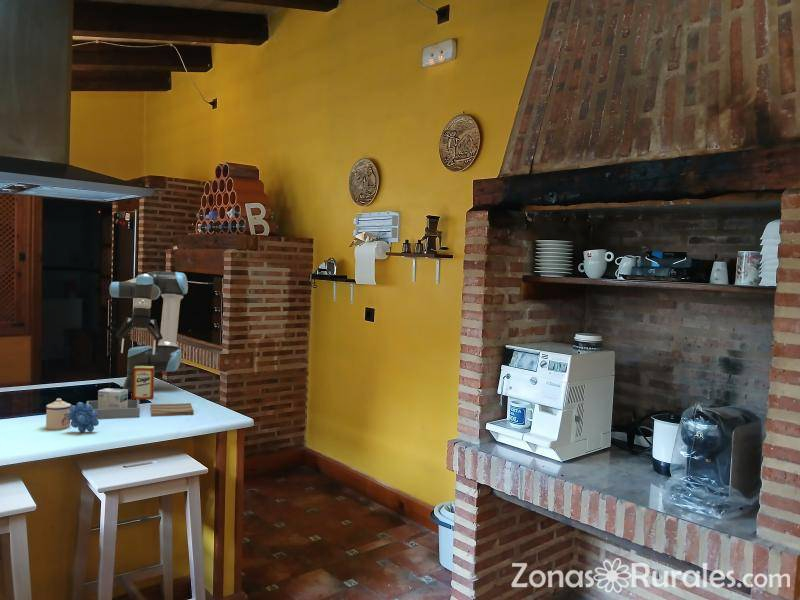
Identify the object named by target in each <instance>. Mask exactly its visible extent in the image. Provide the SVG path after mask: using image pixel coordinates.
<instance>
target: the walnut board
mask: <svg viewBox="0 0 800 600" xmlns="http://www.w3.org/2000/svg"><path fill="white" fill-rule="evenodd" d="M150 415H151V417H169V416H170V417H171V416H193V415H195V411H194V408H193V405H192V403H191V402H186V403H161V404H160V403H158V404H157V403H156V404H153V403H152V404H151V403H150Z"/></svg>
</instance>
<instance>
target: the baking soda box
mask: <svg viewBox="0 0 800 600" xmlns="http://www.w3.org/2000/svg"><path fill="white" fill-rule="evenodd" d="M154 367H155V366H134V368H133V392H132V396H131V397H132V398H131V400H132V399H133V400H134V399H139V400H153V399H154V394H155V393H154V392H155V391H154V390H155V371H154Z"/></svg>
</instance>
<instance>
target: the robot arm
mask: <svg viewBox="0 0 800 600" xmlns="http://www.w3.org/2000/svg"><path fill="white" fill-rule="evenodd" d="M188 289H189V284H188V278H187V275H186V274H185V273H184V272H179V271H158V270H157V271H155V270H154V271H150V272H146V273H141V274H139V275H137V276H136V277H135V278H131V279H129V280H125V281H112V282H111V283H110V285H109V295H110V296H111V297H112V298H118V299H119V298H122V299H123V298H125V299H126V298H127V299H133V309H132V317H127V316H126V317H125V318H124V321H123V323H122V325H121V326H120V327H119V329H118V330H117V332H116V333H115V337H117V338H118V339H119V341H118V345H119V346H121V350H120V353H121V354H123V353H124V344H125V343H124V342H125V338H124V337H126V336H127V334H128V333H130V332H131V330H133V329H134V328H136V329H146V330H147V331H148V332H149V334H150V335H151V336H152V337H153V339H154V340H153V344H152V345H153V346H152V345H141V346H135V347H134V346H133V347H130V348H129V349H128V351H127V352H128V353H127V375H126V379H125V381H124V383H123V386H122V387H123V388H122V389H127V390H128V393H133V368H134V366H155V367H154V372H175V371H177V370H178V369H179V367H180V365H181V362H182V356H183V355H182V354H183V353H182V350H181V349H180V346H179V345H178V344H177V340H178V339H177V338H178V328H179V317H180V316H179V315H180V307H181V306H180V305H181V301H182V299H183V298H184V295H186V294H188V291H189V290H188ZM160 296H161V297H162V301H163V303H162V311H161V322H160V328H159V326H158V322H157V319H156V318H155V319H151V308H152V301H155V300H157V299H159V298H160ZM130 322H131V323H132V324H131V325H130V326H129V327H128V328H127V329H126V330H125V331H124V332H123V333H122V331H123V330H124V328H125V327H126V325H127V323H130ZM150 323H151V324H152V325H153V326H154V328H155V331H156V333H157V335H158V336H157V335H156V334H155V332H154V331H153V330H152V328H151V327H150V326H149V324H150ZM121 333H122V334H121Z"/></svg>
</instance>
